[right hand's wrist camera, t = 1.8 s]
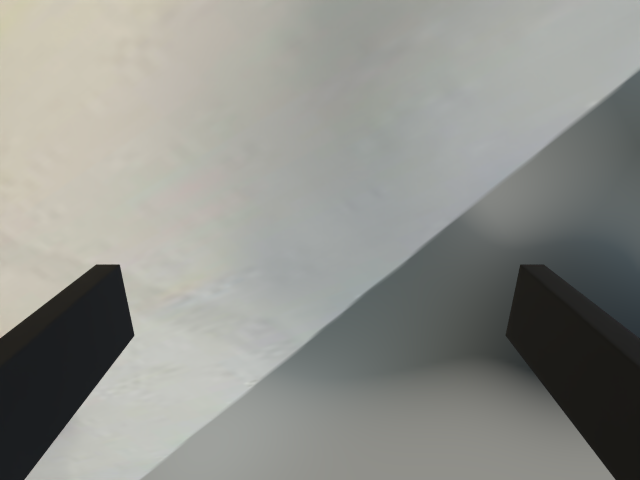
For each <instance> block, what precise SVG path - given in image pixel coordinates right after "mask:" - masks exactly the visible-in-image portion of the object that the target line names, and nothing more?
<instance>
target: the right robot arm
mask: <svg viewBox="0 0 640 480" xmlns="http://www.w3.org/2000/svg"><path fill="white" fill-rule="evenodd" d="M133 337H134V331H133V326H132V322H131V317H130V312H129V307H128V302H127V298H126V293H125V288H124V283H123V278H122V274H121V269H120V265H95V266H94V267H93V268H91V269H90V270H89V271H87V272H86V273H85V274H83V275H82V276H81V277H80V278H78V279H77V280H76V281H74V282H73V283H72V284H70V285H69V286H68V287H67V288H65V289H64V290H63V291H61V292H60V293H59V294H57V295H56V296H55V297H54V298H52V299H51V300H50V301H48V302H47V303H46V304H44V305H43V306H42V307H41V308H39V309H38V310H37V311H35V312H34V313H33V314H31V315H30V316H29V317H28V318H26V319H25V320H24V321H22V322H21V323H20V324H18V325H17V326H16V327H15V328H13V329H12V330H11V331H9V332H8V333H7V334H5V335H4V336H3V337H2V338H0V480H24V479H25V478H26V477H27V476H28V474H29V473H30V472H31V470H32V469H33V468H34V466H35V465H36V464H37V462H38V461H39V460H40V458H41V457H42V456H43V455H44V453H45V452H46V451H47V449H48V448H49V447H50V445H51V444H52V443H53V441H54V440H55V439H56V438H57V436H58V435H59V434H60V432H61V431H62V430H63V428H64V427H65V426H66V424H67V423H68V422H69V421H70V419H71V418H72V417H73V415H74V414H75V413H76V411H77V410H78V409H79V407H80V406H81V405H82V403H83V402H84V401H85V400H86V398H87V397H88V396H89V394H90V393H91V392H92V390H93V389H94V388H95V386H96V385H97V384H98V383H99V381H100V380H101V379H102V377H103V376H104V375H105V373H106V372H107V371H108V369H109V368H110V367H111V366H112V364H113V363H114V362H115V360H116V359H117V358H118V356H119V355H120V354H121V352H122V351H123V350H124V349H125V347H126V346H127V345H128V343H129V342H130V341H131V339H132V338H133ZM506 337H507V338H508V339H509V341H510V342H511V343H512V344H513V346H514V347H515V348H516V350H517V351H518V352H519V354H520V355H521V356H522V358H523V359H524V360H525V362H526V363H527V364H528V366H529V367H530V368H531V369H532V371H533V372H534V373H535V375H536V376H537V377H538V379H539V380H540V381H541V382H542V384H543V385H544V386H545V388H546V389H547V390H548V392H549V393H550V394H551V395H552V397H553V398H554V400H555V401H556V402H557V403H558V405H559V406H560V407H561V409H562V410H563V411H564V413H565V414H566V415H567V417H568V418H569V419H570V420H571V422H572V423H573V424H574V426H575V427H576V428H577V430H578V431H579V432H580V434H581V435H582V436H583V438H584V439H585V440H586V441H587V443H588V444H589V445H590V447H591V448H592V449H593V450H594V452H595V453H596V455H597V456H598V457H599V458H600V460H601V461H602V462H603V464H604V465H605V466H606V468H607V469H608V470H609V472H610V473H611V474H612V476H613V477H614V478H615V479H616V480H640V338H638V337H637V336H636V335H635V334H633V333H632V332H631V331H629V330H628V329H627V328H625V327H624V326H623V325H622V324H620V323H619V322H618V321H616V320H615V319H614V318H612V317H611V316H610V315H609V314H607V313H606V312H605V311H603V310H602V309H601V308H599V307H598V306H597V305H596V304H594V303H593V302H592V301H590V300H589V299H588V298H586V297H585V296H584V295H583V294H581V293H580V292H579V291H577V290H576V289H575V288H573V287H572V286H571V285H570V284H568V283H567V282H566V281H564V280H563V279H562V278H560V277H559V276H558V275H557V274H555V273H554V272H553V271H551V270H550V269H549V268H547V267H546V266H545V265H520V269H519V274H518V278H517V283H516V288H515V293H514V298H513V302H512V307H511V312H510V317H509V322H508V326H507V331H506Z"/></svg>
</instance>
